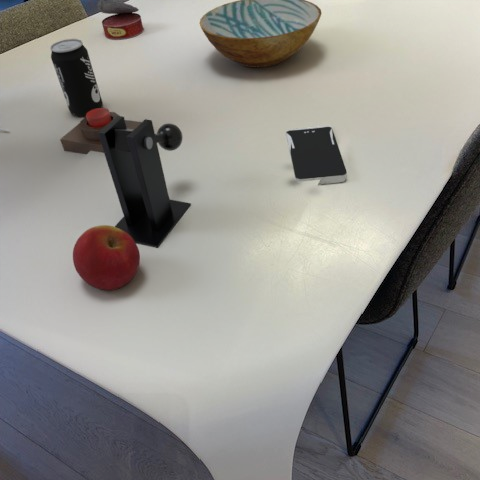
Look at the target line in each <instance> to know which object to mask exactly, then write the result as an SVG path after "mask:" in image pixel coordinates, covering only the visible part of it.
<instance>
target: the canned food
mask: <svg viewBox="0 0 480 480" xmlns="http://www.w3.org/2000/svg"><path fill="white" fill-rule="evenodd" d="M96 6H97V7H96V8H97V11H98V12H99V13H102V14H107V15H109V16H107V17H105V18H104V19H102V21H101V25H102V29H103V33H104V36H105V38H107V39H109V40H114V41H115V40H117V41H118V40H126V39H130V38H134V37H137V36H139V35H141V34H142V33H143V32H144V26H143V22H142V16H141V15H140V14H139V13H137V12H139V10H140V9H139V8H138V7H136V6H133V5H131V4H129V3H126V2H123V1H118V0H99V1H98V2H97V5H96Z"/></svg>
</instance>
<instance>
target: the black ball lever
mask: <svg viewBox="0 0 480 480" xmlns="http://www.w3.org/2000/svg"><path fill="white" fill-rule="evenodd" d="M133 130H134V129H115V150H118V151H125V152H130V148H129V145H128V141H127V136H128V135H129V134H130V133H131V132H132V131H133ZM155 137H156V142H157V145H158V146H159V147H161V148H162V149H163V150H165V151H168V152H172V151H176V150H178V149H179V148H180V147H181V145H182V143H183V138H184V137H183V133H182V130H181V129H180V128H179V127H178V125H176V124H174V123H171V122H169V123H168V122H167V123H164V124H162V125H161V126H160V127H159V128H158V129H157V131H156V133H155Z"/></svg>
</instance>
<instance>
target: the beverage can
mask: <svg viewBox="0 0 480 480" xmlns="http://www.w3.org/2000/svg"><path fill="white" fill-rule="evenodd" d="M49 49H50V52H51V54H50V59H51V62H52V65H53V68H54V70H55V73H56V76H57V79H58V82H59V85H60V87H61V91H62V94H63V96H64V99H65V102H66V105H67V108H68V110H69V112H70V113H71V114H73V115H74V116H76V117H78V118H79V117H80V118H85V117H86V114H87V113H88V112H89V111H91V110H93V109H96V108H103V99H102V96H101V92H100V89H99V85H98V82H97V78H96V75H95V72H94V69H93V66H92V61H91V58H90V55H89V51H88V49H87V48H86V46H85V45H84V44H83V41H82V39H78V38H66V39H61V40H59V41H56V42H54V43H52V44H51V45H50V48H49Z"/></svg>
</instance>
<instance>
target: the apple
mask: <svg viewBox="0 0 480 480" xmlns="http://www.w3.org/2000/svg"><path fill="white" fill-rule="evenodd" d="M140 254H141V253H140V249H139V247H138V245H137V243H135V242H134V240H133V238H132V237H131V236H130V235H129V234H128V233H126V232H125V231H123V230H121V229H119V228H117V227H115V226H114V225H108V224H106V225H105V224H103V225H95V226H92V227H90V228H88V229H86V230H85V231H84V232H83V233H82V234H81V235H80V236H79V237H78V238H77V240H76V241H75V243H74V246H73V250H72V261H73V266H74V268H75V271H76V273H77V274H78V275H79V277H80V278H81V279H82V280H83V281H84V282H85V283H86V284H87V285H89V286H90V287H93V288H95V289H99V290H104V291H116V290H118V289H121V288H122V287H124V286H125V285H127V284H128V283H130V282H131V280H133V278H134V277H135V276H136V274H137V272H138V270H139V266H140V261H141V260H140V259H141V255H140Z"/></svg>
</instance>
